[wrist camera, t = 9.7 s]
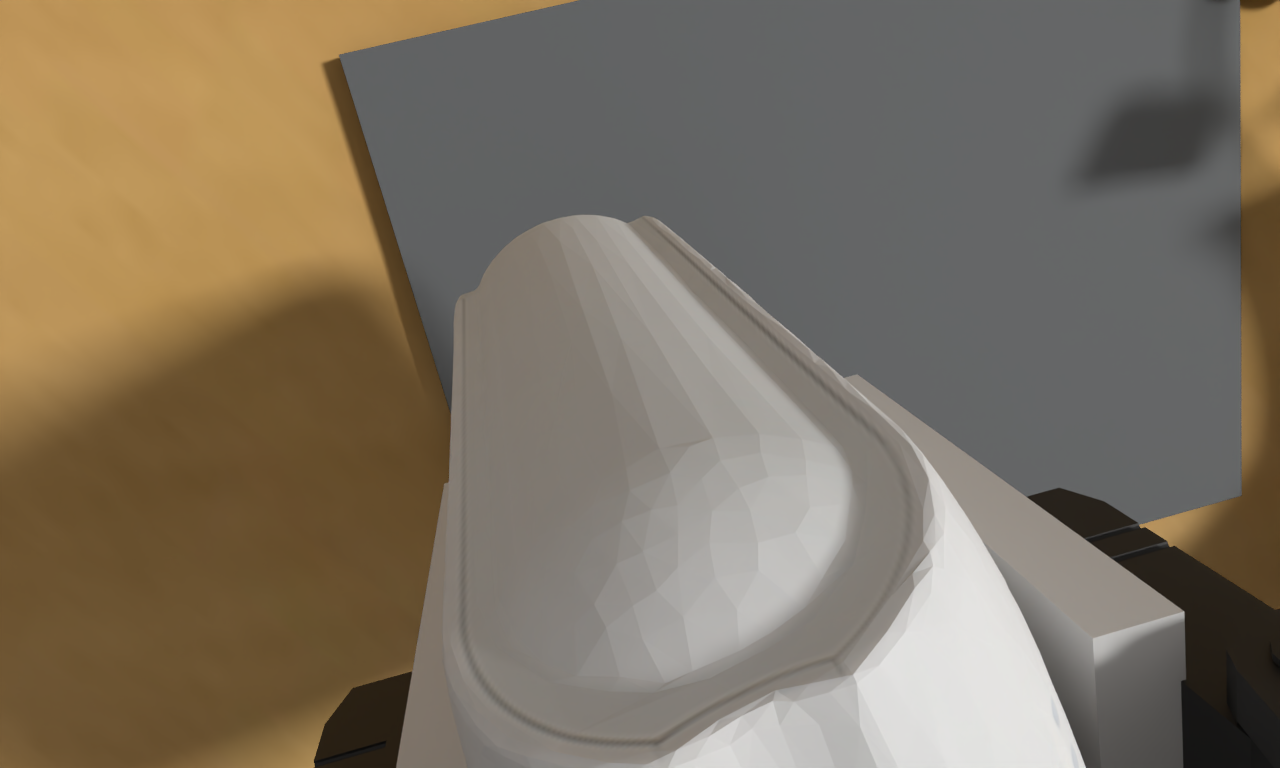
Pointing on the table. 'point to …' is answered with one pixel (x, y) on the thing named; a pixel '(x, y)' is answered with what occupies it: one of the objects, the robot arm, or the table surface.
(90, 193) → the table surface
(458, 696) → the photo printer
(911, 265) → the mat
